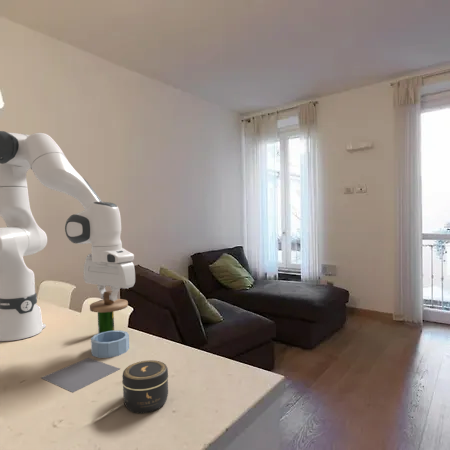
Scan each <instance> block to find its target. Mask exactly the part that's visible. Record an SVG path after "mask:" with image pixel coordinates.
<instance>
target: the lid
mask: <svg viewBox="0 0 450 450" xmlns="http://www.w3.org/2000/svg"><path fill="white" fill-rule="evenodd" d="M111 293H112V290H106V292H104V300H103V299H100V300H101V301H99V300H97V301H93V302H91V303H90V304H89V311H90V312H93V313H98V312H100V313H103V312H113V311H114V312H118V311H121V310H125V309H126V308H128V306H129V302H128V300H127V299H123V298H117V300H116V301H110V300H109V295H111Z"/></svg>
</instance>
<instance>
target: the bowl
mask: <svg viewBox="0 0 450 450" xmlns="http://www.w3.org/2000/svg"><path fill="white" fill-rule="evenodd" d="M90 345H91V347H90V352H91V356H92V357H96V358H99V359H102V358H103V359H105V358H106V359H107V358H114V357H118V356H121V355H123V354H125V353H127V352H128V351H129V349H130V334H129V332H128V331H124V330H114V331H107V332H102V333H99V334H98V333H96V334H94V335H93V336H92V337H91V338H90Z"/></svg>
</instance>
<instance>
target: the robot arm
mask: <svg viewBox="0 0 450 450" xmlns="http://www.w3.org/2000/svg"><path fill="white" fill-rule="evenodd" d="M29 170H32V172H33V173H34V176H35V178H36V179H37V180H38V181H39V183H40V184H42V185H43V186H44V187H45V188H48V189H50V190H51V191H52V190H53V191H56V192H59V193H63V194H65V195H68V196H70V197H72V198H74V199H76V200H77V201H78V202H79V203H80V204H81V206H82V207H83V209H84V210H83V211H80V212H78V213H75V214H72V215H70V216H69V217H68V218H67V219H66V222H65V225H64V232H65V233H64V234H65V235H66V237H67V239H68V240H69V242H71V243H73V244H77V245H83V244H85V245H86V244H90V245H91V253H88V255H86V257H85V262H84V264H83V281H84V282H85V284H90V285H97V286H96V287H97V291H98V292H99V295H100V297H99V298H100V300H103V299H104V292H106V291H107V289H106V288H107V287H110V291H112V293H111V295H109V300H110V301H116V300H117V299H118V295H119V291H120V289H129V288H133V287H134V285H135V283H136V270H135V265H134V262H133V261H135V254H134V253H132V252H130V251H129V250H127V249H125V248H124V247H123V242H122V240H121V239H122V238H121V234H122V217H121V212H120V208H119V206H118V205H117V204H116V203H113V202H110V201H109V202H107V201H102V200H101V198H100V197H99V195H98V194H97V193H96V192H95V190H94V189H93V187H92V185H91V184H90V183H89V182H88V181H87V180H86V179H85V178H84V177H83V176H82V175H81V174H80V173H79V172H78V171H77V170H76V169H75V168H74V167H73V165H72V164H71V162H70V161H69V160H68V158H67V156H66V154H65V153H64V151H63V150H62V148H61V147H60V146H59V145H58V143H57V142H56V141H55V139H53V138H52V136H50V135H49V134H47V133H43V132H35V133H32V134H26V133H17V132H9V131H8V132H7V131H3V130H0V217H1V218H2V220H3V221H4V223H5V225H6V226H5V227H1V226H0V342H10V341H17V340H23V339H27V338H31V337H34V336H37V335H38V334H40V333H41V332H42V331H43V329H45V328H46V327H47V326H46V325H47V324H46V323H43V317H42V310H41V307H40V306H39V305H38V304H37V303H38V296H37V292H36V284H35V283H36V279H35V277H36V276H35V272H34V271H33V270H32V269H31V268H29V267H28V266H27V265H26V263H25V259H24V257H25V256H32V255H34V254H36V253H37V254H38V253H39V252H42V250H44V249H45V248H46V246H47V244H48V236H47V233H46V231H45V230H43V229H42V228H41V227H40V226H39V224H38V223H37V221H36V219H35V217H34V215H33V213H32V209H31V203H30V197H29V190H28V189H29V188H28V180H27V173H28V171H29Z"/></svg>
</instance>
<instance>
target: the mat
mask: <svg viewBox="0 0 450 450" xmlns="http://www.w3.org/2000/svg"><path fill="white" fill-rule="evenodd" d="M119 370H120V371H121V368H119V367H116V366H114V365H112V364H108V363H105V362H102V361H99V360H96V359H93V358H90V357H87V358H84V359H82V360H80V361H78V362H75V363H73V364H69V365H68V366H66V367H63V368H60V369H59V370H56V371H54V372H51V373H48V374H45V375H43V376H41V377H40V379H42V380H44V381H47V382H49V383H51V384H53V385H55V386H56V387H58V388H59V387H60V388H61V389H64V390H66V391H68V392H70V393H75V392H77V391H79V390H81V389H83V388H85V387H87V386H90V385H91V384H94V383H95V382H97V381H100V380H101V379H103V378H106V377H107V376H109V375H112V374H114V373H116V372H118V371H119Z"/></svg>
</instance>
